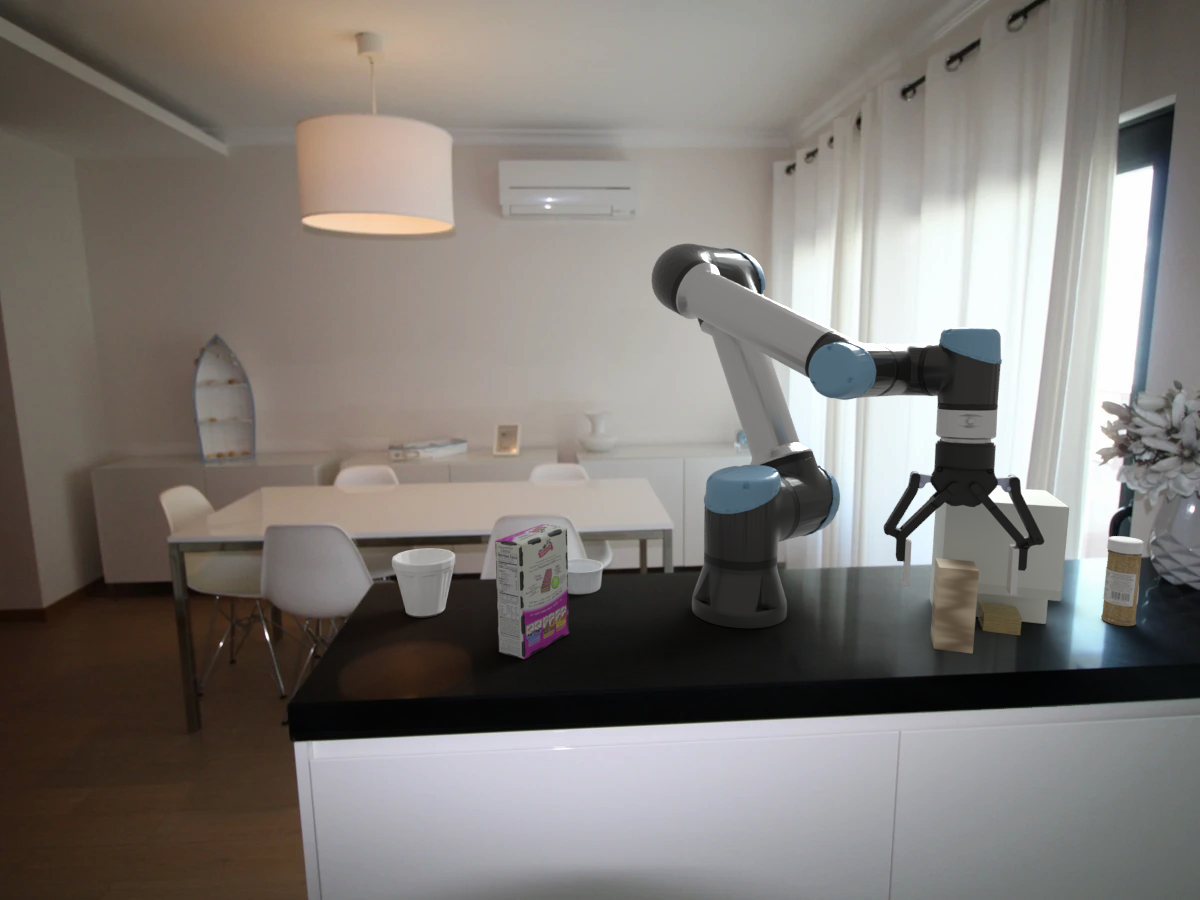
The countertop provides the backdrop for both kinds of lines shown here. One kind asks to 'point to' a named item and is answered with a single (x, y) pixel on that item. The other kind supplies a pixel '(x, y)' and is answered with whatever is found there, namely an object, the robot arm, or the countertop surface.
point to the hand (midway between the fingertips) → (957, 587)
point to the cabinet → (1006, 550)
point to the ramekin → (584, 576)
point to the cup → (424, 579)
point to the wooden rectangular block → (954, 605)
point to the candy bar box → (532, 589)
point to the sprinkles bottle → (1122, 580)
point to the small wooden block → (1000, 619)
